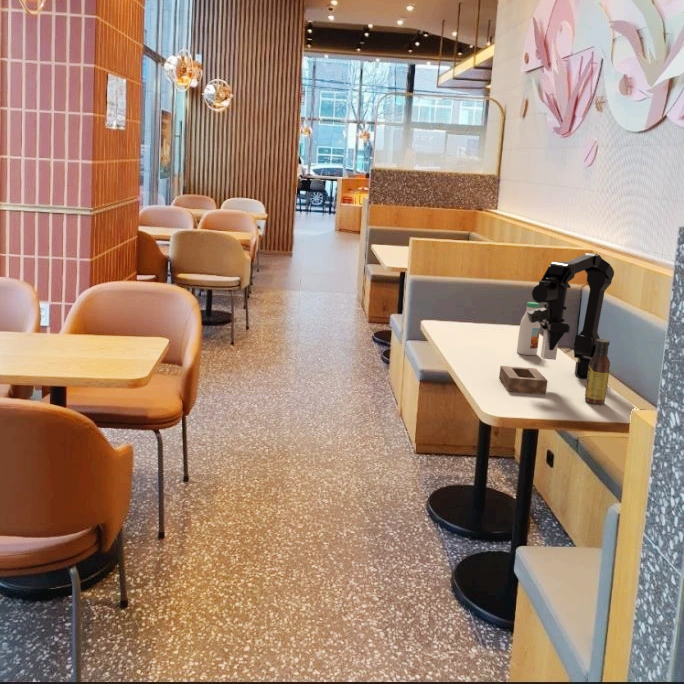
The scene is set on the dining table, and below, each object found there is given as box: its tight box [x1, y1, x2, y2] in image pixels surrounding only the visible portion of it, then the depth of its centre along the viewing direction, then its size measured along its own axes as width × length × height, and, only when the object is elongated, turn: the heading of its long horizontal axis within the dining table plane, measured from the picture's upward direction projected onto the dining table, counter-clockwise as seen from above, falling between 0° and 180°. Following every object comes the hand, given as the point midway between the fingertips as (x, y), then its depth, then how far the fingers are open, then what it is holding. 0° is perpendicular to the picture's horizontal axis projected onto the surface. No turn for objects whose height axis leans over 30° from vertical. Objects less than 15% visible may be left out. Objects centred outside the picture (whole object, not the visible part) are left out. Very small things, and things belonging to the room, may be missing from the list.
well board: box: [498, 365, 549, 395], centre depth 273 cm, size 12×16×4 cm
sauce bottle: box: [584, 338, 611, 405], centre depth 259 cm, size 6×6×20 cm
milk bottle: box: [516, 301, 541, 356], centre depth 324 cm, size 8×8×20 cm
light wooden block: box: [540, 329, 559, 361], centre depth 274 cm, size 4×4×9 cm
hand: (549, 348), depth 274 cm, fingers closed on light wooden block, 4 cm apart
